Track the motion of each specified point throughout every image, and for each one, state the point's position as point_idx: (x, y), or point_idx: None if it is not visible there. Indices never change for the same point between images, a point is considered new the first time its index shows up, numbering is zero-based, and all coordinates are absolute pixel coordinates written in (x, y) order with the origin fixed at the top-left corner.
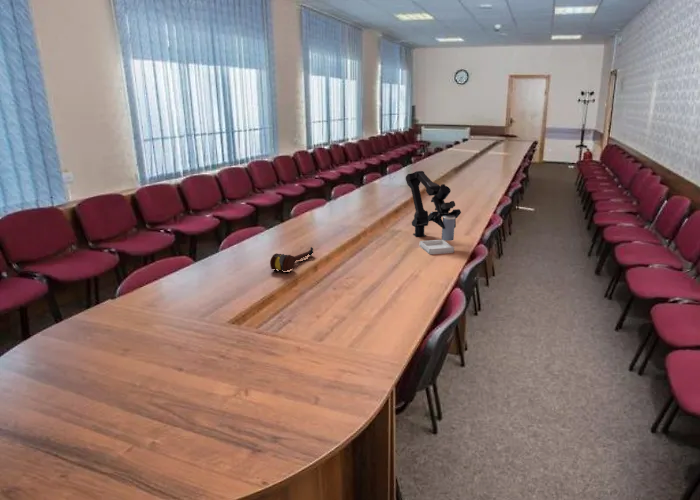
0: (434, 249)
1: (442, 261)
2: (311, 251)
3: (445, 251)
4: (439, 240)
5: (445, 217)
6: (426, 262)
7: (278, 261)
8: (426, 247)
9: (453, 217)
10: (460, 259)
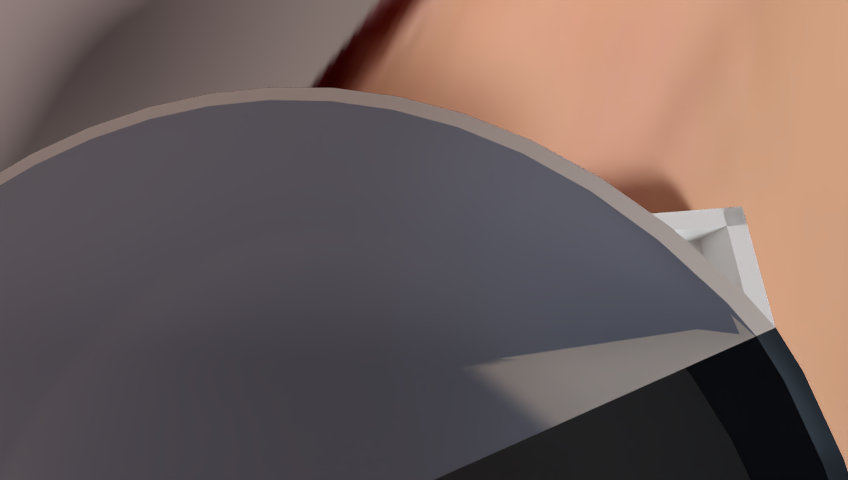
0: (671, 214)
1: (614, 25)
2: None
3: None
4: None
5: (728, 300)
6: (772, 13)
7: None
8: None
9: (75, 139)
10: (439, 58)
